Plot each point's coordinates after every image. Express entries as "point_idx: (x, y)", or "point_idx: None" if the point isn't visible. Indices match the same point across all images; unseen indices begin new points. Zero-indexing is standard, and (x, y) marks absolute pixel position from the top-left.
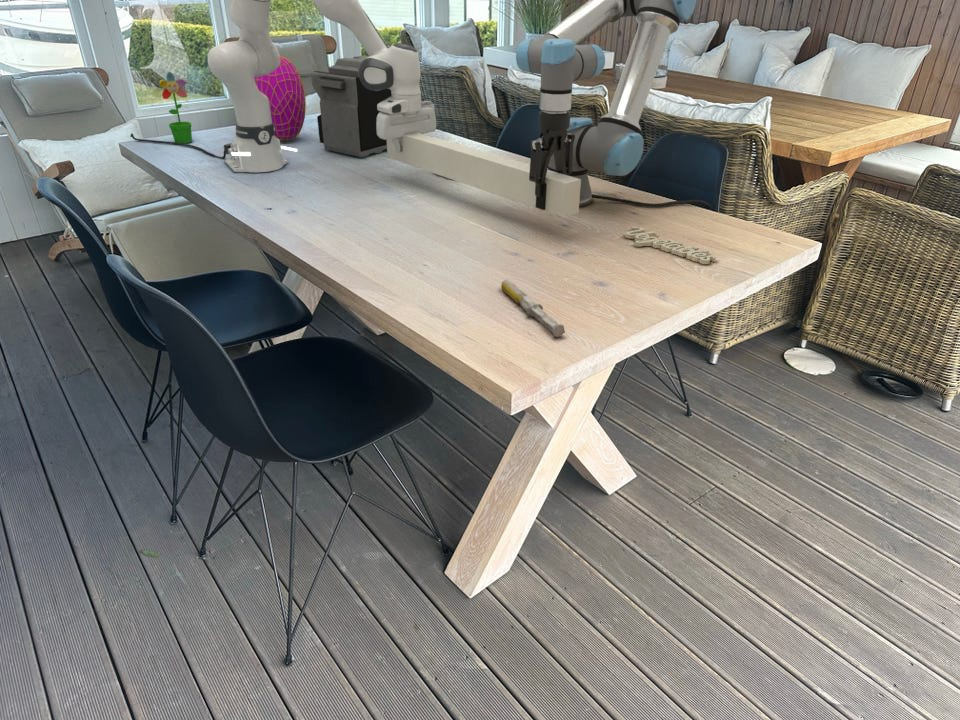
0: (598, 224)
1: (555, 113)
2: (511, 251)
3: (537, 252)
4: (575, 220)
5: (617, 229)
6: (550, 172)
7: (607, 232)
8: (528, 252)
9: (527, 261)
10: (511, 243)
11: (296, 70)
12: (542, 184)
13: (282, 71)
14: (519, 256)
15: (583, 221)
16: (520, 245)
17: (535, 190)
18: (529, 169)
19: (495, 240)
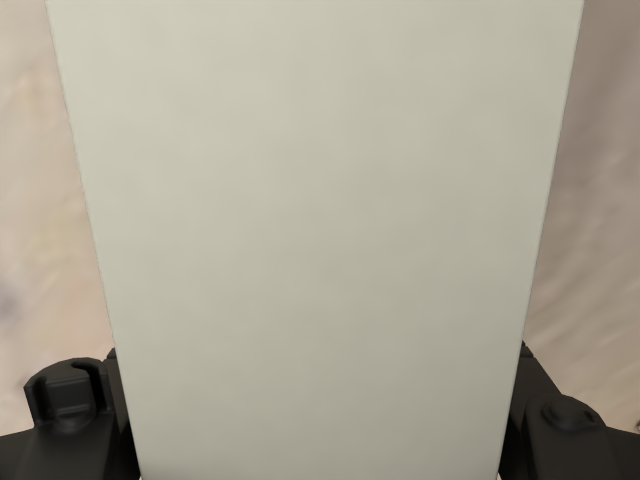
0: (636, 279)
1: None
2: (4, 271)
3: (109, 347)
4: (618, 158)
5: (626, 374)
6: (410, 447)
7: (557, 371)
8: (72, 325)
9: (11, 386)
10: (62, 194)
11: None
12: (138, 463)
13: None
14: (7, 333)
15: (631, 199)
16: (89, 242)
17: (110, 357)
18: (242, 46)
19: (2, 102)
